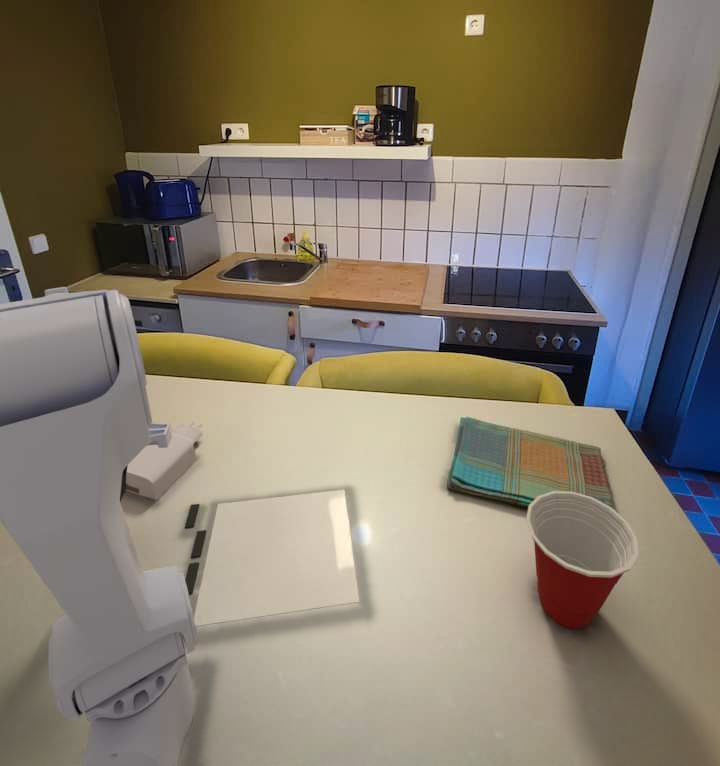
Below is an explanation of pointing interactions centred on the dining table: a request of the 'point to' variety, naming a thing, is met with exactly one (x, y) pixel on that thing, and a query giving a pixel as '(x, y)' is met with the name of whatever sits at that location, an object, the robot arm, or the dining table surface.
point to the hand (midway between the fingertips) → (117, 496)
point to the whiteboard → (277, 558)
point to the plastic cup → (578, 554)
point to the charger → (162, 463)
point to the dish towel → (523, 465)
